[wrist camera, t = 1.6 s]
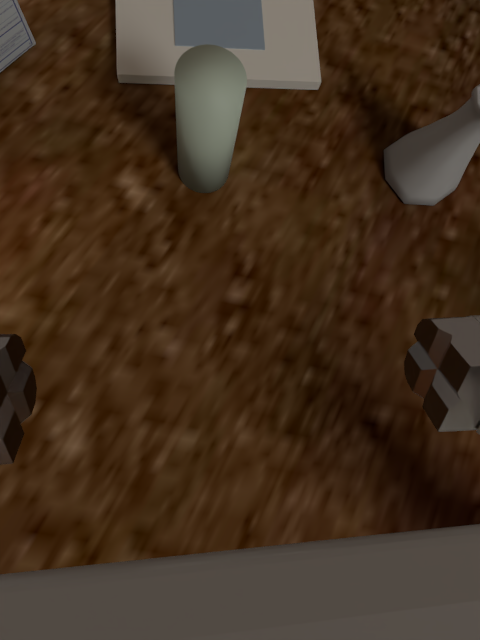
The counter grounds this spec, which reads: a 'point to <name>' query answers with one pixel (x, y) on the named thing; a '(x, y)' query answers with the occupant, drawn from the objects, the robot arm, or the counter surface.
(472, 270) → the counter surface
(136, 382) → the counter surface
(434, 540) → the robot arm
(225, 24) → the card
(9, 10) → the medicine box
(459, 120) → the flask
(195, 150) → the pale green cylinder
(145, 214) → the counter surface
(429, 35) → the counter surface
